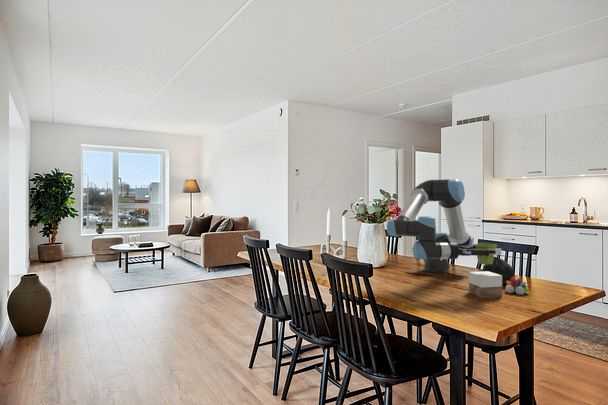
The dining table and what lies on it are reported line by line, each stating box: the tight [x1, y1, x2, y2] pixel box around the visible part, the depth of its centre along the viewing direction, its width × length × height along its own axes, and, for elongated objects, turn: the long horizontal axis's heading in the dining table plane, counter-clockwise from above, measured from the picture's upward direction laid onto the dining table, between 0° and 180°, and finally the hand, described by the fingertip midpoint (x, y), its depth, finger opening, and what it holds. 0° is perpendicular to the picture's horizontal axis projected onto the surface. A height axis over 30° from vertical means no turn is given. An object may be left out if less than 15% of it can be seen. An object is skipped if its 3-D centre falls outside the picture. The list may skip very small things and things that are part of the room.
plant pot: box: [473, 242, 498, 265], centre depth 174 cm, size 9×9×9 cm
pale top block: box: [468, 271, 503, 288], centre depth 175 cm, size 10×10×5 cm
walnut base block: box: [468, 282, 503, 299], centre depth 175 cm, size 10×10×5 cm
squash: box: [482, 256, 515, 286], centre depth 197 cm, size 14×15×15 cm
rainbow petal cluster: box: [504, 277, 529, 296], centre depth 178 cm, size 8×10×7 cm
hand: (495, 250), depth 175 cm, fingers closed on plant pot, 8 cm apart
